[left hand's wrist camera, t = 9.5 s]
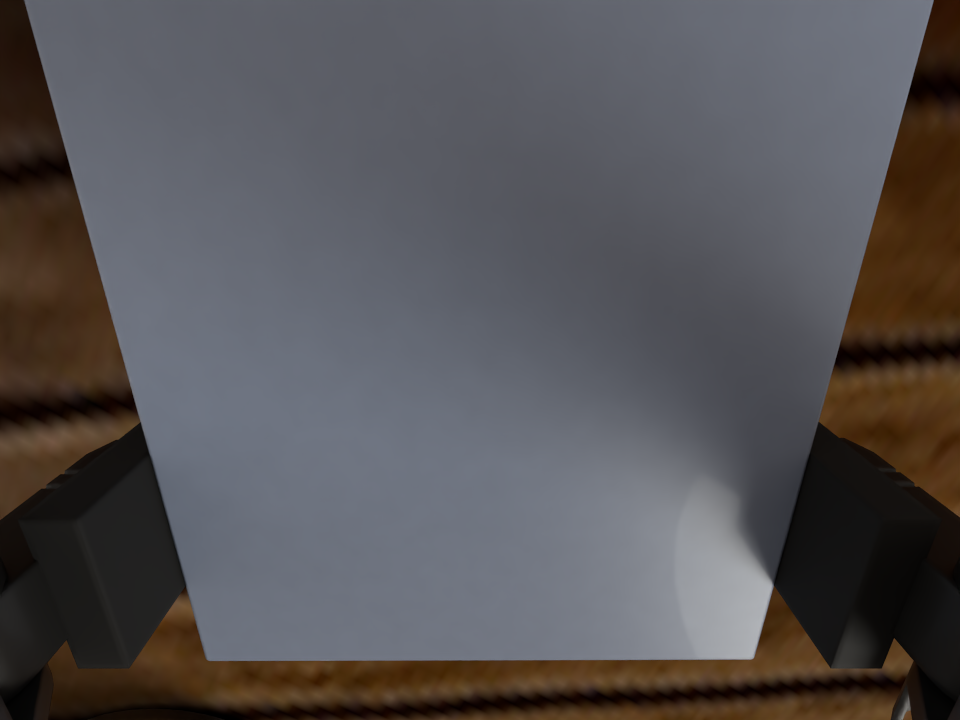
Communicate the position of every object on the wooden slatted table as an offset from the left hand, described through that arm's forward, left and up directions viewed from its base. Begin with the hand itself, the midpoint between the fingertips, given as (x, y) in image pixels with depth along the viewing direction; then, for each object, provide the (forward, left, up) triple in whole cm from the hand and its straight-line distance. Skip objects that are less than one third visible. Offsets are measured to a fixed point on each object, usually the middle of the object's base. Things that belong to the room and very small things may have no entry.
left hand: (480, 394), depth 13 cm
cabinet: (+1, +6, -5) cm, 8 cm away
